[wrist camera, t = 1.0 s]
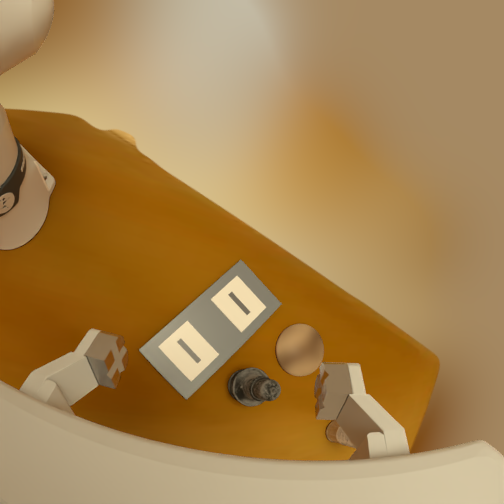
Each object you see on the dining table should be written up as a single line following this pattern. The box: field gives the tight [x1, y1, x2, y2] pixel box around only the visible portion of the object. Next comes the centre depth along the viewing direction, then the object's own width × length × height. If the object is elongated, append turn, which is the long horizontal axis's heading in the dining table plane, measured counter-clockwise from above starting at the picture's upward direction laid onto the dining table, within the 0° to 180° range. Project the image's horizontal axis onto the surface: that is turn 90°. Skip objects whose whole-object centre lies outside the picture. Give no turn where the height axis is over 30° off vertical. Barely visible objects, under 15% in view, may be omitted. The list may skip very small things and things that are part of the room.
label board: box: [139, 260, 281, 400], centre depth 46 cm, size 10×22×1 cm, turn 136°
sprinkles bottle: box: [326, 420, 355, 448], centre depth 41 cm, size 5×5×13 cm
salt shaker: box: [228, 368, 281, 406], centre depth 40 cm, size 6×6×12 cm
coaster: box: [275, 324, 324, 376], centre depth 50 cm, size 9×9×1 cm
